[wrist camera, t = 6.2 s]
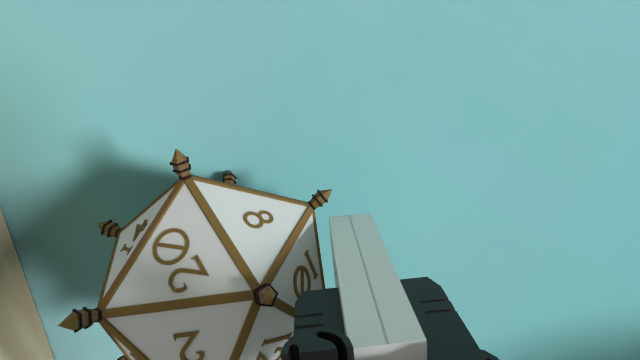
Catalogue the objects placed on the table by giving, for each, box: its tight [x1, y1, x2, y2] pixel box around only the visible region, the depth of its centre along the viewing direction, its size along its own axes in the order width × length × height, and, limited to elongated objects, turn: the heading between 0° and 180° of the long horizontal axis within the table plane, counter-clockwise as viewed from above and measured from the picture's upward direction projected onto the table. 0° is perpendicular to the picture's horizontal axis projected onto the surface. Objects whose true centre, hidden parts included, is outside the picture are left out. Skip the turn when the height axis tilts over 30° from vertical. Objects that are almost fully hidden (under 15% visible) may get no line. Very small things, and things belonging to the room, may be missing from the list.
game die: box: [58, 149, 332, 360], centre depth 13 cm, size 9×8×10 cm
